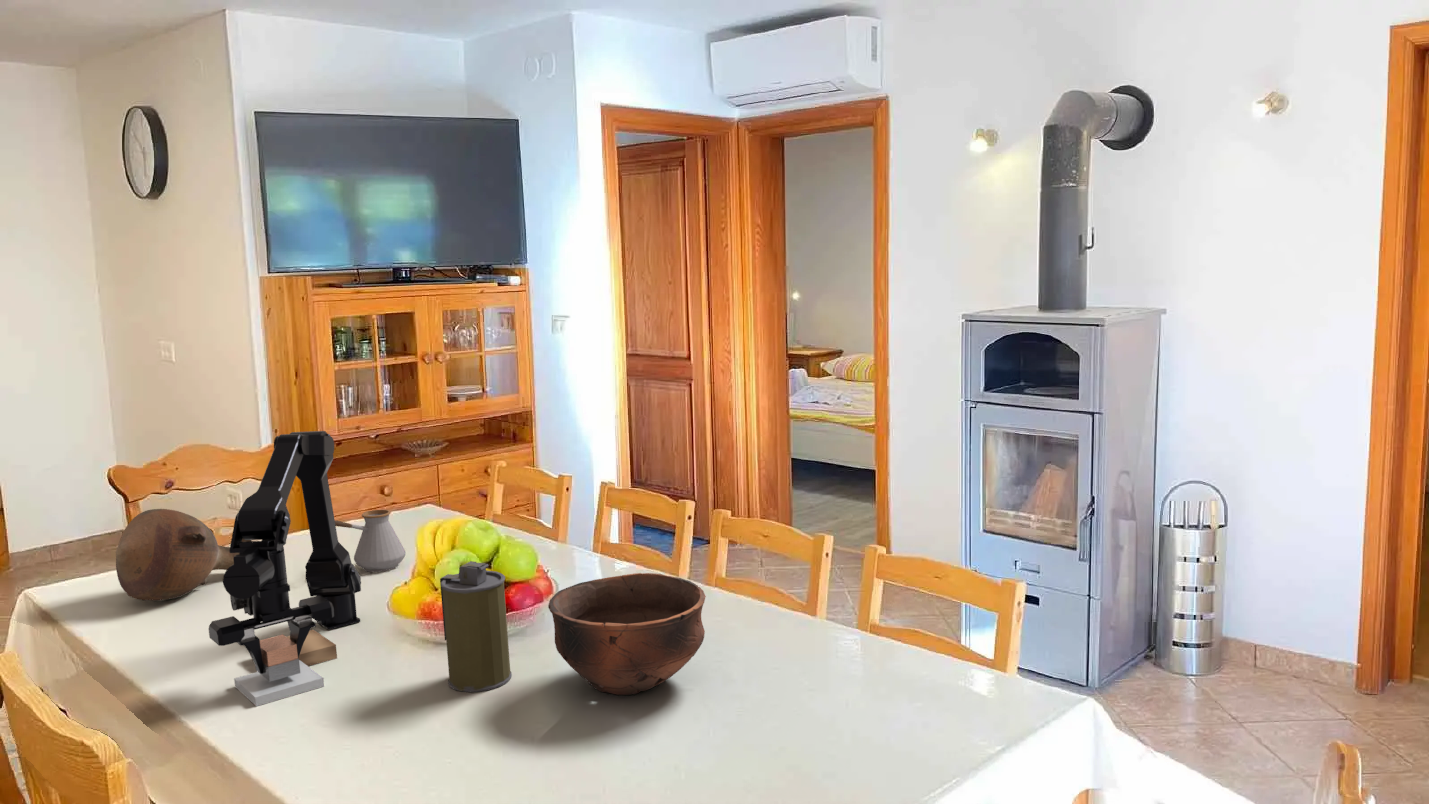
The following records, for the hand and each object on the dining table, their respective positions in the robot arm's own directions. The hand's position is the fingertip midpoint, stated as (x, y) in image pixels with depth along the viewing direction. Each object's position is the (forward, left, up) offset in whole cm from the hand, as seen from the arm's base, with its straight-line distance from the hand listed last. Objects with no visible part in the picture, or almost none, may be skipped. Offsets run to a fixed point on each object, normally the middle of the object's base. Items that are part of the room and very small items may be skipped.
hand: (277, 668), depth 180 cm
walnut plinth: (-6, -11, -3) cm, 13 cm away
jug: (-4, -69, -3) cm, 69 cm away
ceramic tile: (0, 0, -3) cm, 3 cm away
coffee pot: (-36, -53, -3) cm, 64 cm away
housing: (0, 0, -1) cm, 0 cm away
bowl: (-42, +42, -3) cm, 60 cm away
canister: (-25, +22, -3) cm, 34 cm away
